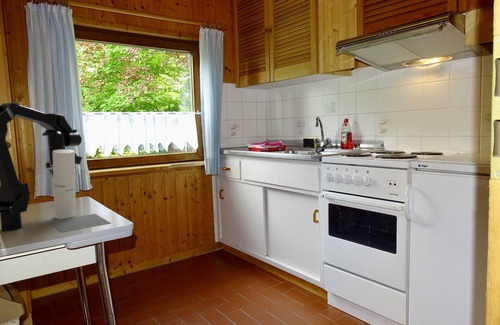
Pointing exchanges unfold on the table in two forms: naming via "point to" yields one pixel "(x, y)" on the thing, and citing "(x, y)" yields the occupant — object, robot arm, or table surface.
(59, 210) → the cylindrical container
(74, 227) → the mat
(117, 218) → the table surface
